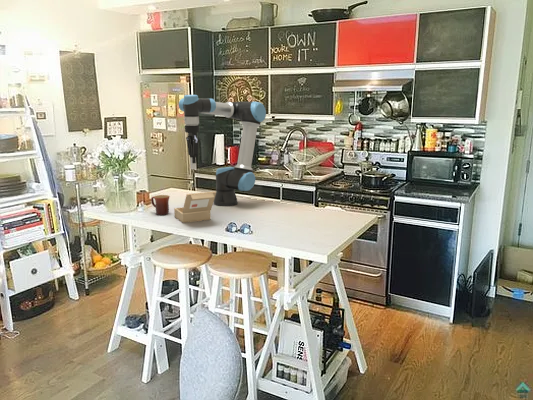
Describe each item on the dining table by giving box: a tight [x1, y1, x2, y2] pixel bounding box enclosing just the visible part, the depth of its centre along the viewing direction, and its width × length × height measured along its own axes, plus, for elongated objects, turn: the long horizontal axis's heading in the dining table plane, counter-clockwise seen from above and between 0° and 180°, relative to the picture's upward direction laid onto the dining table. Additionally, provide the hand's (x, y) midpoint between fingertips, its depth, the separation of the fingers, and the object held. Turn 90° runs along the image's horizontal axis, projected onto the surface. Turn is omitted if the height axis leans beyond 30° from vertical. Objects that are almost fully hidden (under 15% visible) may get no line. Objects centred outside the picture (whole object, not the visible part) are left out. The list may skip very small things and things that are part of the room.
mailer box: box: [174, 206, 212, 224], centre depth 249 cm, size 16×14×5 cm
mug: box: [150, 194, 171, 216], centre depth 258 cm, size 12×9×10 cm
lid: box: [182, 191, 216, 214], centre depth 237 cm, size 16×14×4 cm
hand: (193, 168), depth 242 cm, fingers closed
